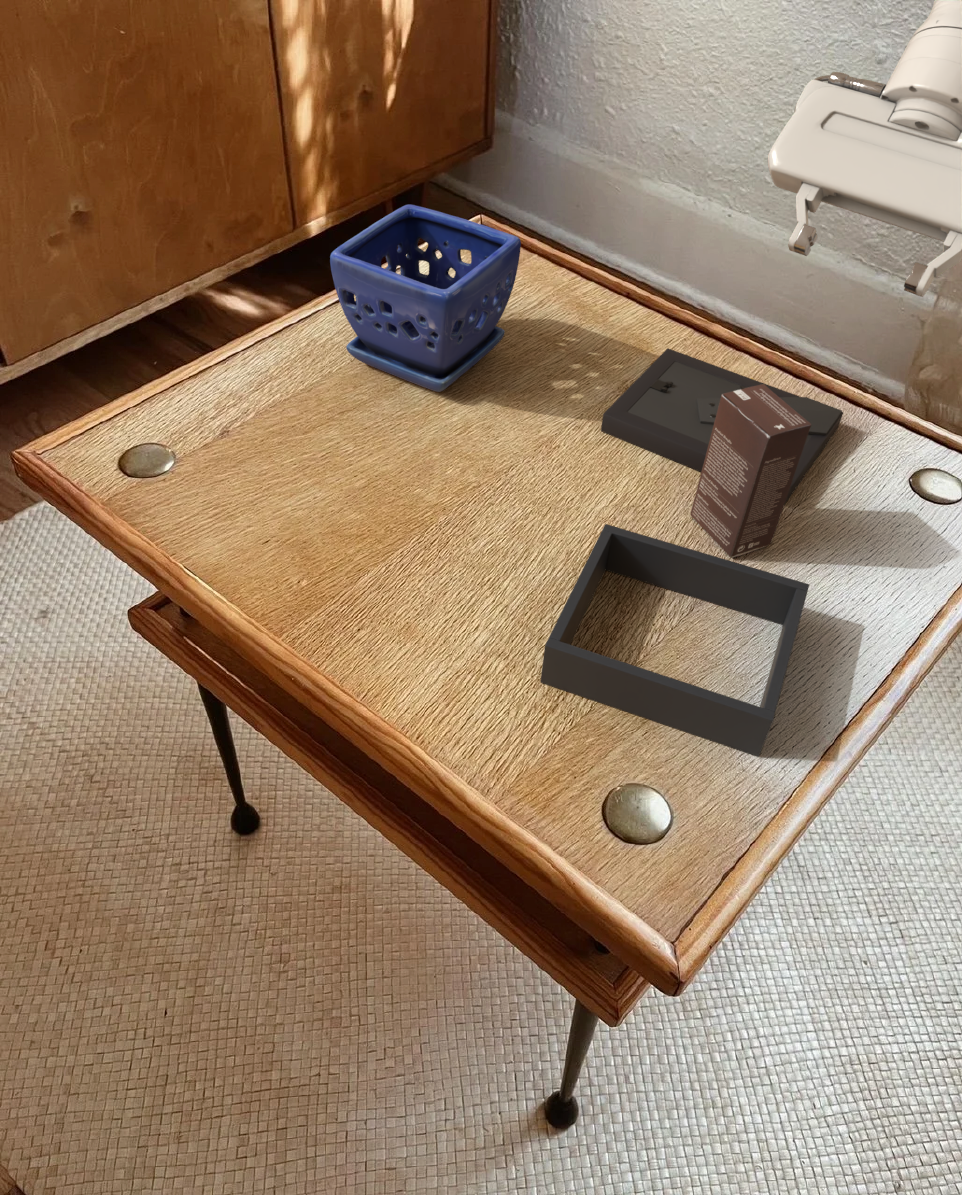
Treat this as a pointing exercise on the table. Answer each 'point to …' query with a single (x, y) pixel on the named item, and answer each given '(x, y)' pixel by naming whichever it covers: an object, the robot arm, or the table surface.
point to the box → (748, 469)
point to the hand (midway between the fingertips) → (853, 270)
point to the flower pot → (425, 294)
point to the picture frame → (700, 411)
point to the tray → (658, 692)
